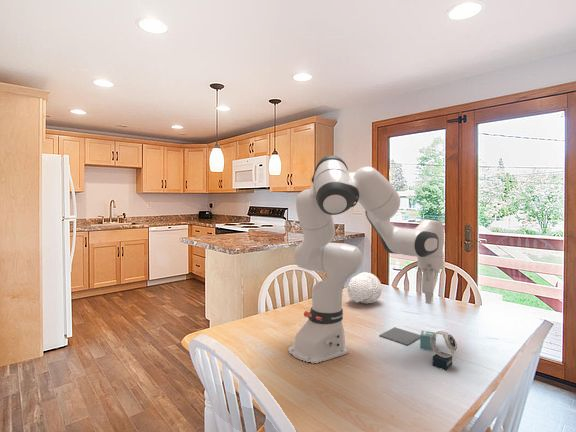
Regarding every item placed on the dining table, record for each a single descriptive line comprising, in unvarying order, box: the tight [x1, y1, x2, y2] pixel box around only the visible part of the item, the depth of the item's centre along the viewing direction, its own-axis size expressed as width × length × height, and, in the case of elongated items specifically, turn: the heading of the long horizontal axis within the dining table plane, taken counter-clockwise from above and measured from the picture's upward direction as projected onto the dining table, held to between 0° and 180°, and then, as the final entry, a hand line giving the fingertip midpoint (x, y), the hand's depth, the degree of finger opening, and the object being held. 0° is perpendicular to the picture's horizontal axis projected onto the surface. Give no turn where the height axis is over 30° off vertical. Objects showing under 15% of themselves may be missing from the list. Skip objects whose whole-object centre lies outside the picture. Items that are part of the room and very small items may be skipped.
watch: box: [430, 330, 458, 371], centre depth 111 cm, size 6×8×11 cm
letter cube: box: [419, 330, 437, 351], centre depth 125 cm, size 5×5×5 cm
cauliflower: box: [346, 271, 383, 304], centre depth 174 cm, size 20×18×16 cm
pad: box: [378, 327, 421, 347], centre depth 134 cm, size 12×12×1 cm
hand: (429, 299), depth 124 cm, fingers open, 8 cm apart
